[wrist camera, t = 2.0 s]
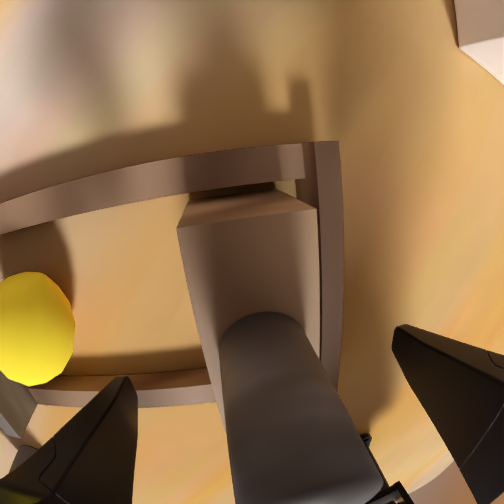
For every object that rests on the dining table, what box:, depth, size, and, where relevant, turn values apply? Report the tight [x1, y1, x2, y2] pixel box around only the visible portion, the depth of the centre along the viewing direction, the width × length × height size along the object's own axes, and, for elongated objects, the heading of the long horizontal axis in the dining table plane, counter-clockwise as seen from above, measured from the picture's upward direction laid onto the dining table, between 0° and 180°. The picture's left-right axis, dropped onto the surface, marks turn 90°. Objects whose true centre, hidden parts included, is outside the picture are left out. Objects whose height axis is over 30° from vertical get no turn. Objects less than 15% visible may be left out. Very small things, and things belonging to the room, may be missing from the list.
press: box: [0, 141, 344, 439], centre depth 12 cm, size 21×13×5 cm, turn 96°
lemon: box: [0, 272, 75, 386], centre depth 11 cm, size 7×5×5 cm
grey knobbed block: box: [176, 189, 383, 504], centre depth 9 cm, size 4×9×11 cm, turn 6°
